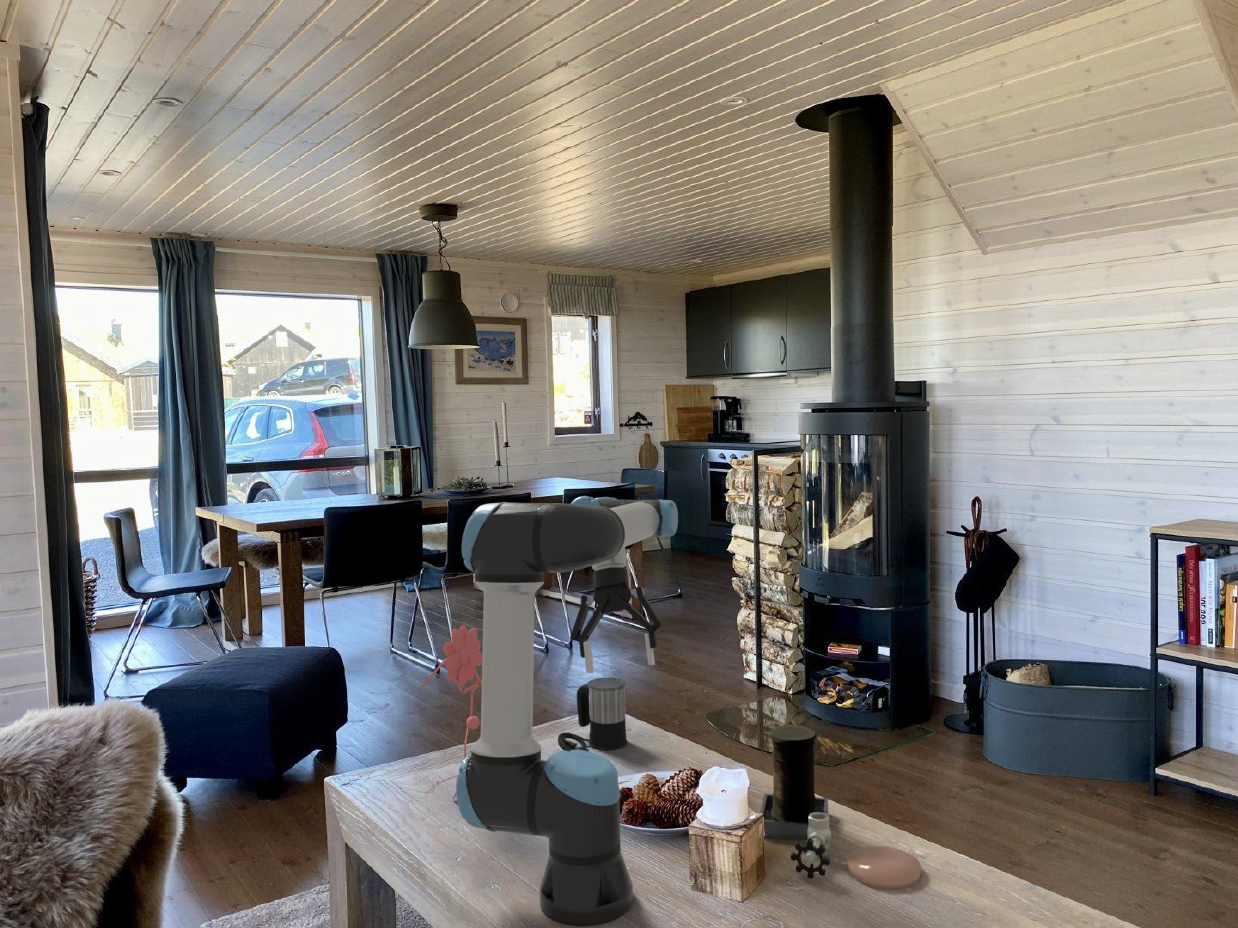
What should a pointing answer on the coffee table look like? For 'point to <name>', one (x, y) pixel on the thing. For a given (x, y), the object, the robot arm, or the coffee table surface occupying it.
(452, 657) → the figurine
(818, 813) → the valve
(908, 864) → the peach soap bar
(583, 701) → the milk frother
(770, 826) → the collar
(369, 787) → the coffee table surface
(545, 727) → the coffee table surface
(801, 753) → the container
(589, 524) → the robot arm
